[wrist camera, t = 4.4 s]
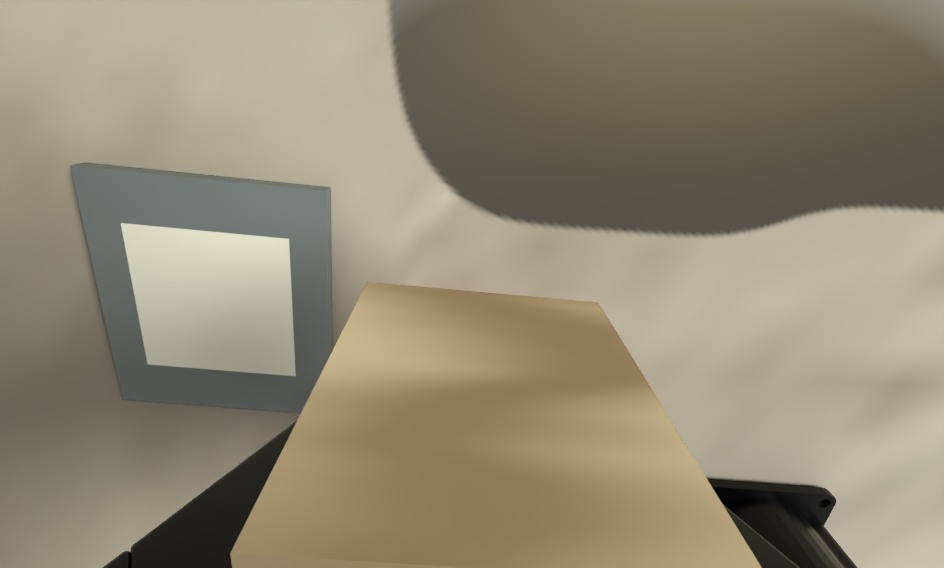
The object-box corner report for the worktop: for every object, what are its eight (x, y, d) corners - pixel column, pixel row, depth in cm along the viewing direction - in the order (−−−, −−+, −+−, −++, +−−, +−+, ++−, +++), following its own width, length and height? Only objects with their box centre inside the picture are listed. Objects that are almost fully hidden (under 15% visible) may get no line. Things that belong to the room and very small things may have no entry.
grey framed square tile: (330, 187, 16) (325, 191, 15) (333, 406, 19) (329, 415, 19) (84, 162, 15) (69, 165, 15) (132, 390, 19) (121, 399, 18)
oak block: (598, 302, 8) (771, 584, 4) (558, 477, 10) (643, 832, 5) (367, 282, 8) (230, 553, 3) (364, 463, 9) (268, 820, 5)
